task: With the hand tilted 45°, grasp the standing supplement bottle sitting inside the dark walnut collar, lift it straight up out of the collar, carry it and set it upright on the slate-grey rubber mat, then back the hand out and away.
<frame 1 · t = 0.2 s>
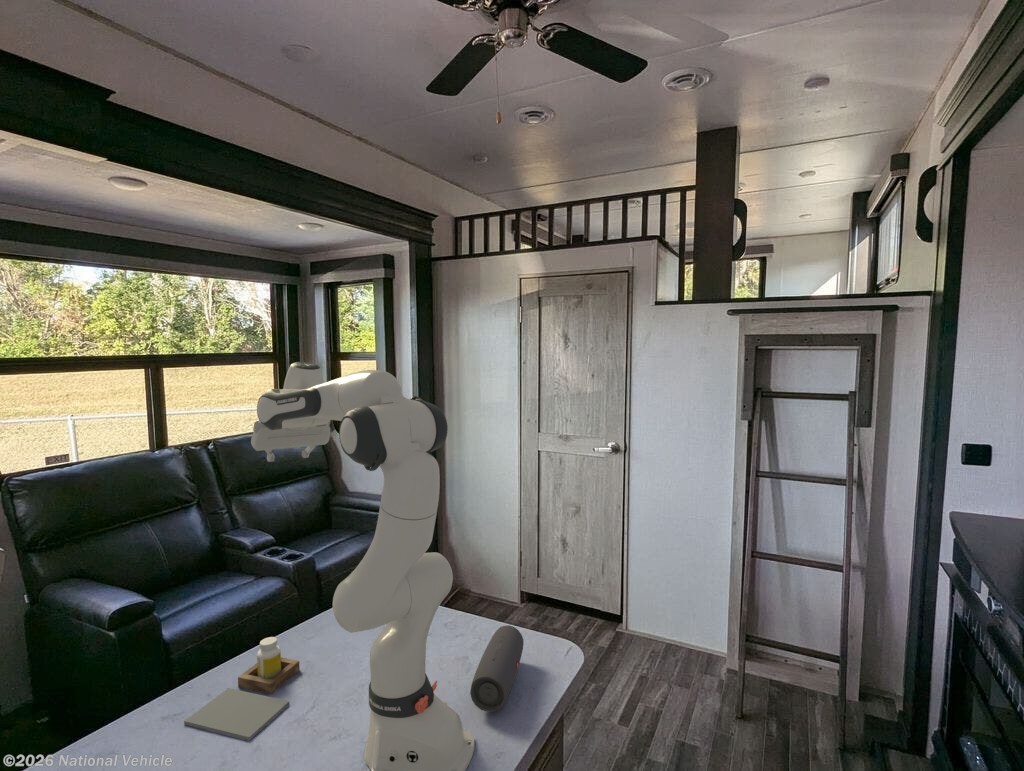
hand: (287, 458, 143), 54 cm above the table, tool tilted 30°, fingers open, 8 cm apart
slate mat: (238, 714, 117), on the table
supplement bottle: (269, 679, 130), resting in walnut collar
walnut collar: (269, 678, 130), on the table
bluetooth speaker: (499, 686, 126), on the table
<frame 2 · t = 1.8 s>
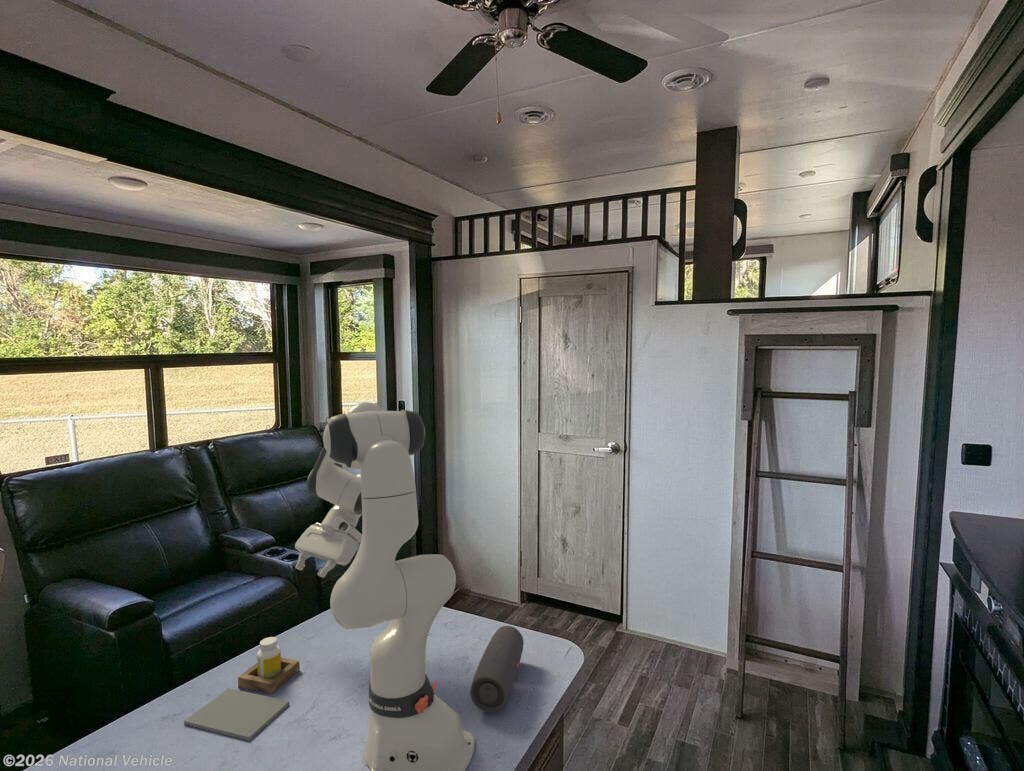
hand: (309, 572, 140), 23 cm above the table, tool tilted 45°, fingers open, 8 cm apart
nothing on the table moved.
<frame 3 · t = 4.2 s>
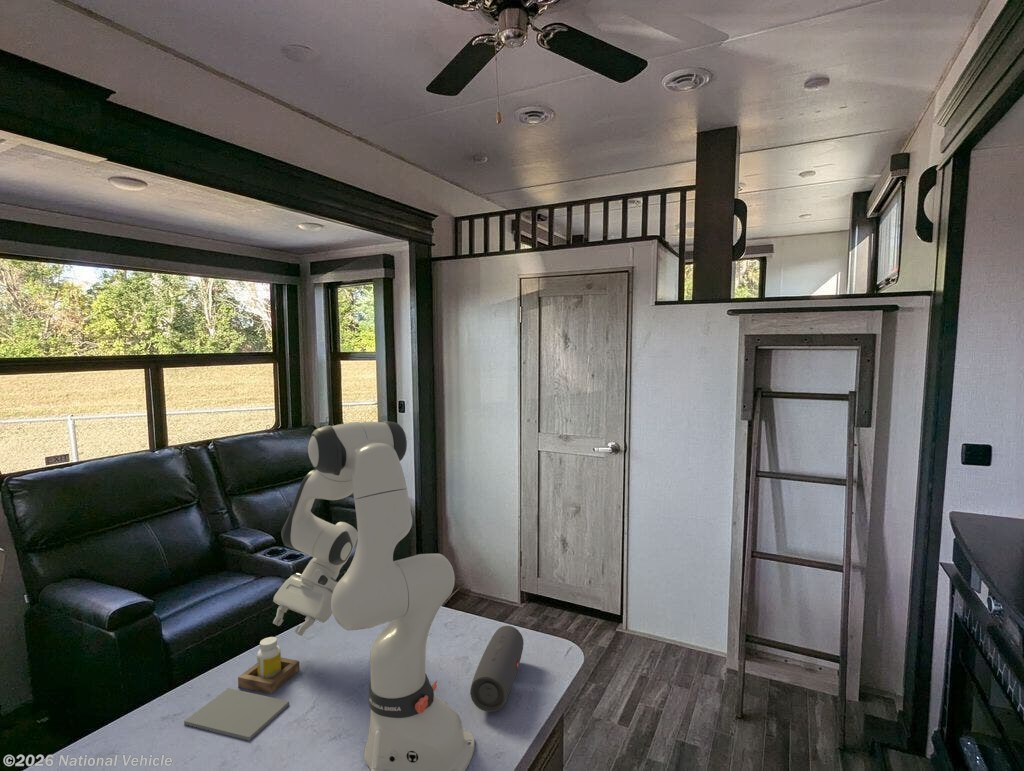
hand: (286, 629, 134), 10 cm above the table, tool tilted 45°, fingers open, 8 cm apart
nothing on the table moved.
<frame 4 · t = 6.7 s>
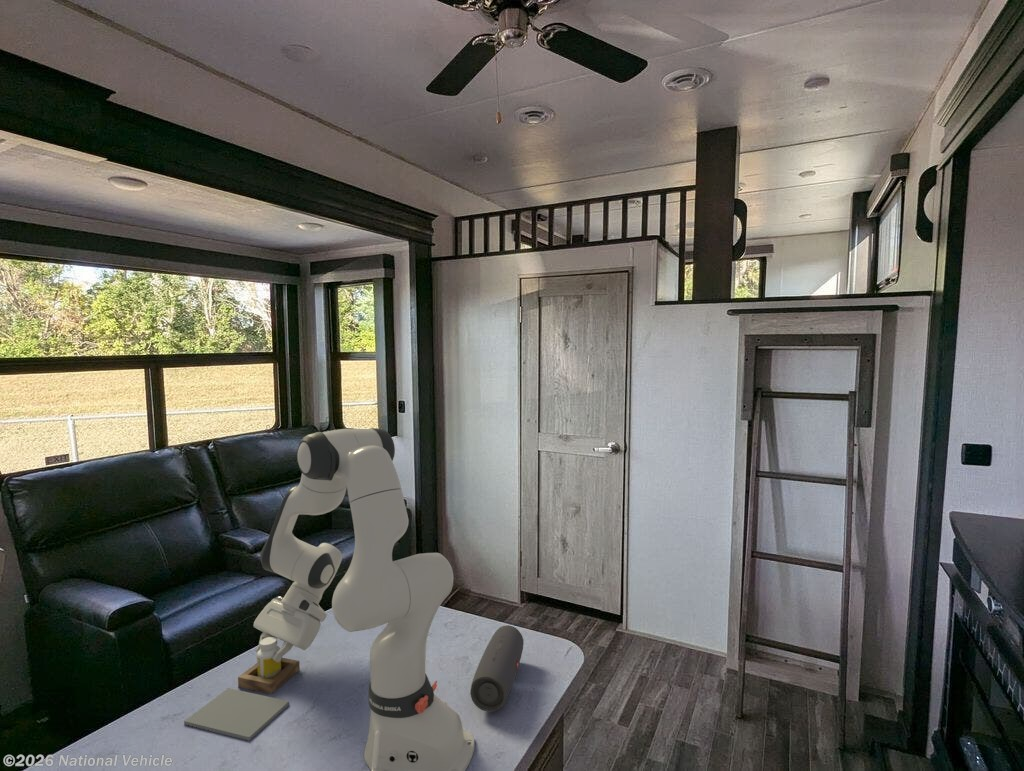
hand: (266, 657, 129), 6 cm above the table, tool tilted 45°, fingers closed on supplement bottle, 5 cm apart
supplement bottle: (269, 679, 130), resting in walnut collar, touching gripper
everything else where it was.
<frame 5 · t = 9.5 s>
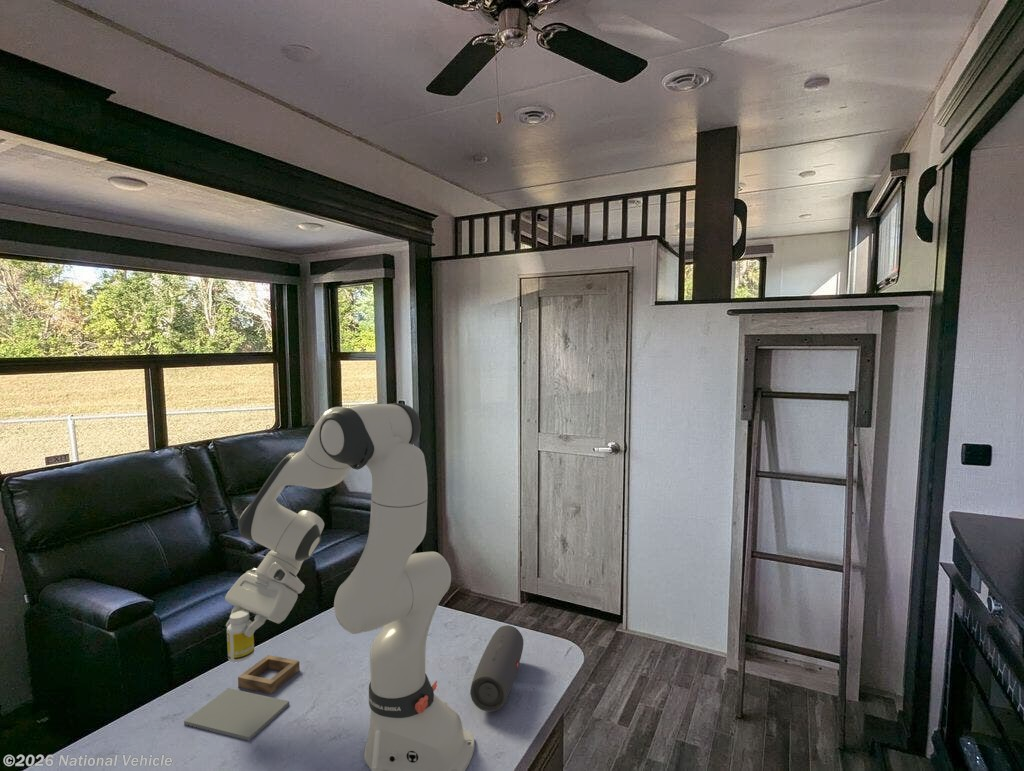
hand: (237, 631, 117), 19 cm above the table, tool tilted 45°, fingers closed on supplement bottle, 5 cm apart
supplement bottle: (241, 657, 118), point 13 cm above the table, touching gripper
everything else where it was.
when the fingers open (8 cm above the table, at t = 12.6 s): supplement bottle drops 1 cm, resting on slate mat.
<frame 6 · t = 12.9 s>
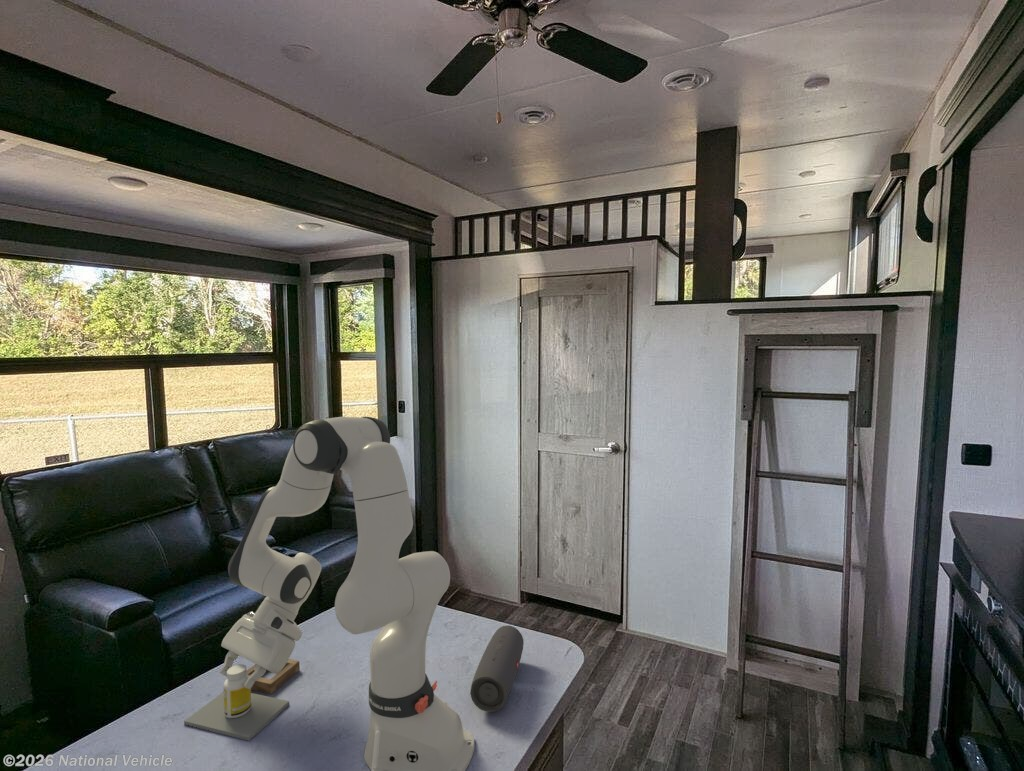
hand: (234, 681, 116), 8 cm above the table, tool tilted 45°, fingers open, 8 cm apart
supplement bottle: (238, 711, 117), point 1 cm above the table, touching slate mat
everything else where it was.
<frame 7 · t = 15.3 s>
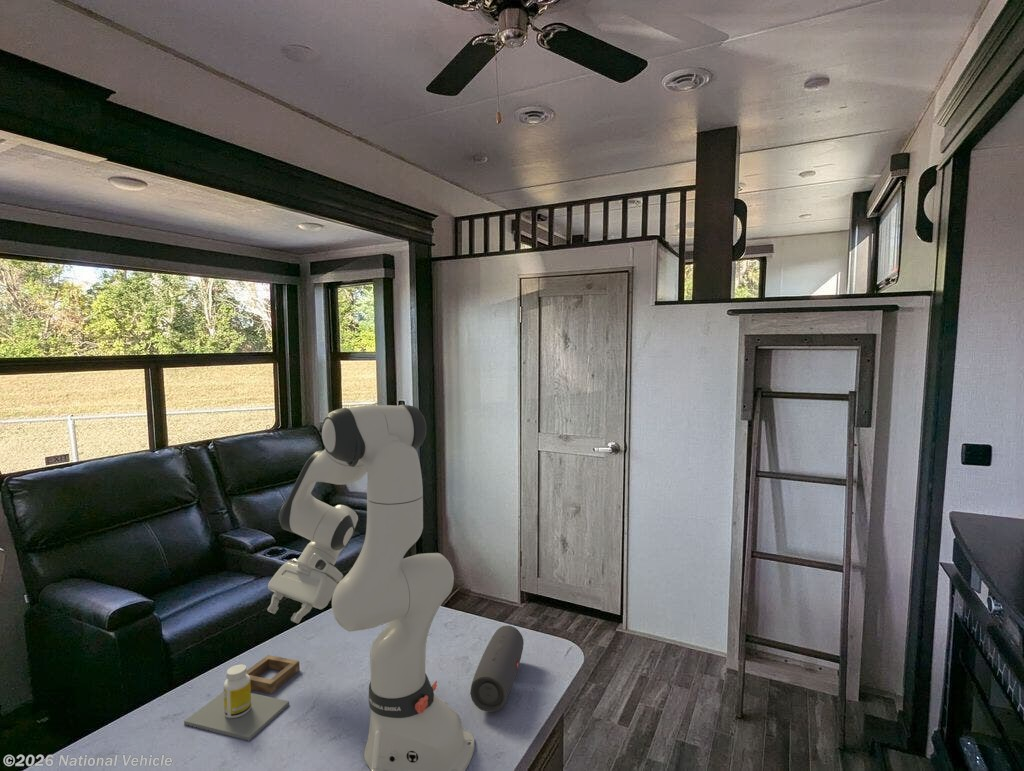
hand: (282, 617, 126), 18 cm above the table, tool tilted 45°, fingers open, 8 cm apart
nothing on the table moved.
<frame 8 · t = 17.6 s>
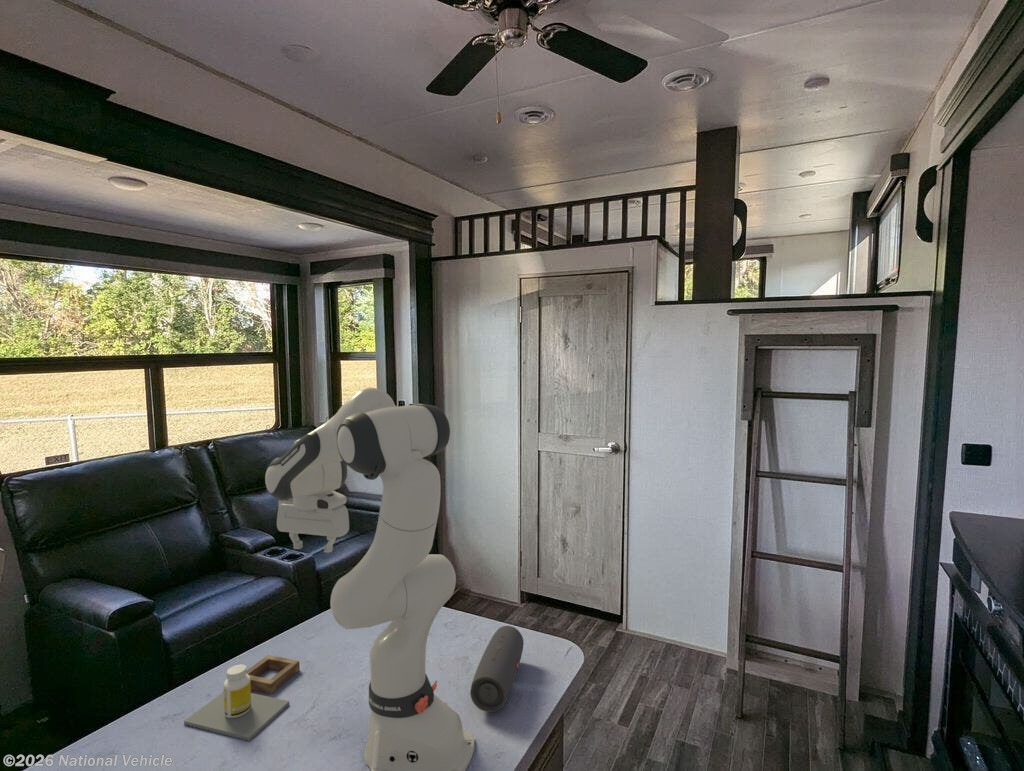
hand: (313, 550, 134), 31 cm above the table, tool pointing down, fingers open, 8 cm apart
nothing on the table moved.
at the end: supplement bottle inside the target area on the slate mat (0.1 cm from its centre), point 0.6 cm above the slate mat's base; supplement bottle tilted 0°; the gripper is holding nothing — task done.
